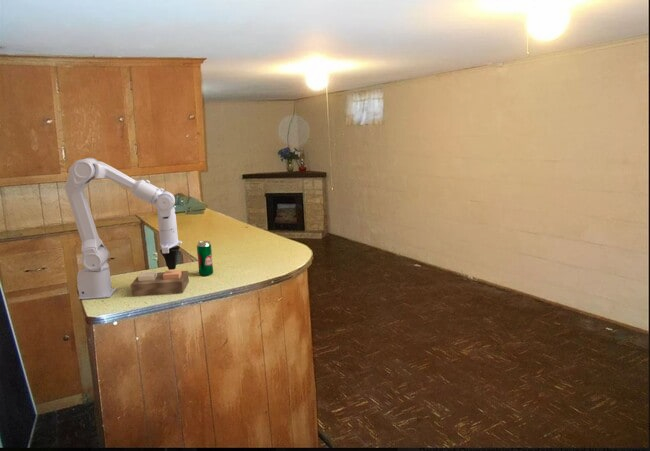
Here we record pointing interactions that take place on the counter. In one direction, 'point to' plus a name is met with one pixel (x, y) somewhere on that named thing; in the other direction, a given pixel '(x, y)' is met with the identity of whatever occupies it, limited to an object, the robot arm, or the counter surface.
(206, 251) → the soda can
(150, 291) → the key console
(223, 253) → the counter surface
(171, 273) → the terracotta key
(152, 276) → the offwhite key
